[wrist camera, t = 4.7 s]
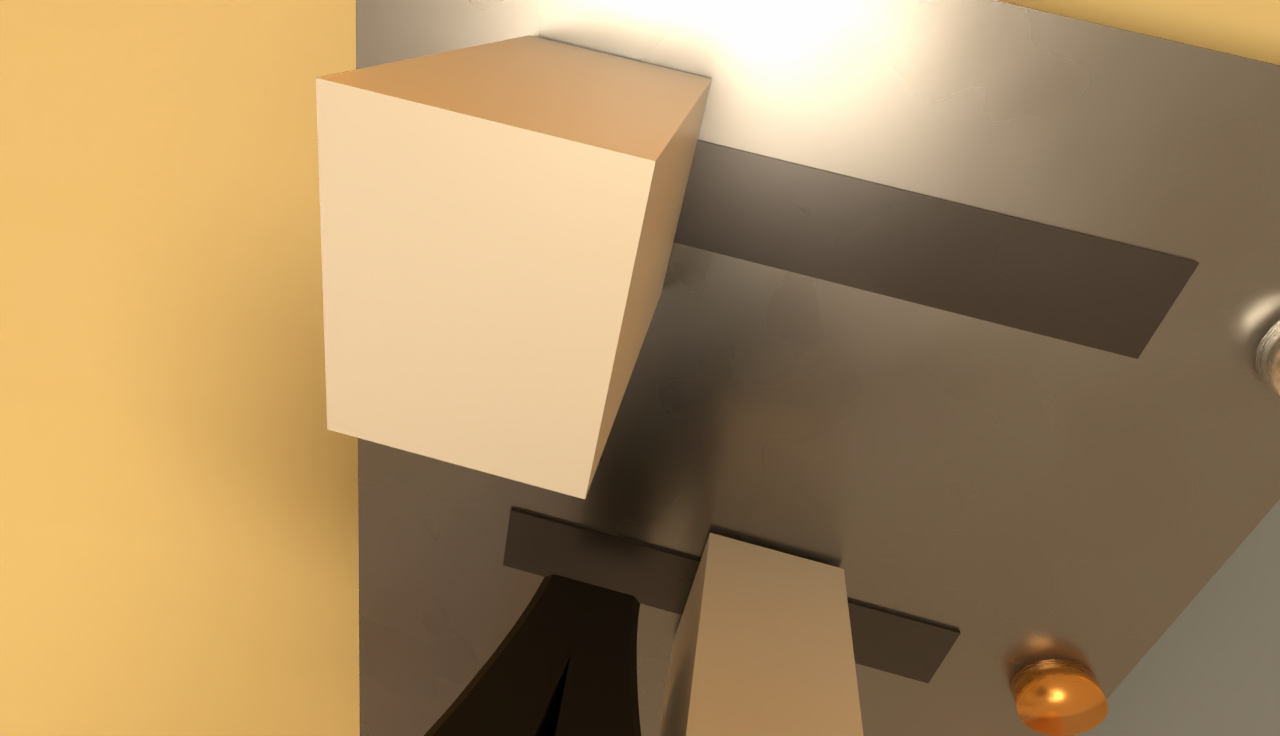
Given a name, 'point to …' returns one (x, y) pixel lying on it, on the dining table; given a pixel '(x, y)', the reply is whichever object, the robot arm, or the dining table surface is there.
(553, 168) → the block
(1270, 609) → the mat
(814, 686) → the block
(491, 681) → the robot arm
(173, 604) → the dining table surface
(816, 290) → the panel
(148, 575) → the dining table surface
